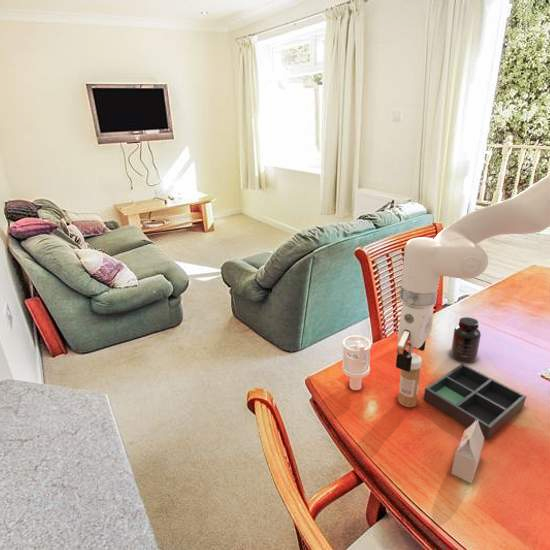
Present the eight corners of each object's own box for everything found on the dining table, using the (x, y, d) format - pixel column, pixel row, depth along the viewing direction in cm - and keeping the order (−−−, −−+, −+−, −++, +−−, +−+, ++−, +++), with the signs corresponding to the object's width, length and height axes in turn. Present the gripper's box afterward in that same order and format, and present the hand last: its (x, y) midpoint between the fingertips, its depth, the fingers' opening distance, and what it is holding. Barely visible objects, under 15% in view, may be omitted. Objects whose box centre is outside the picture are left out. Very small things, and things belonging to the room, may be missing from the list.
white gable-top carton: (479, 459, 78) (487, 423, 74) (471, 483, 73) (479, 445, 69) (460, 451, 80) (467, 415, 76) (451, 473, 75) (458, 436, 71)
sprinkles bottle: (420, 402, 93) (426, 358, 88) (409, 411, 91) (414, 365, 86) (405, 392, 97) (409, 349, 92) (393, 400, 95) (397, 356, 89)
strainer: (347, 397, 97) (348, 348, 91) (338, 379, 103) (339, 333, 97) (373, 393, 97) (375, 344, 91) (363, 376, 104) (365, 329, 98)
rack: (523, 407, 90) (526, 396, 89) (487, 439, 82) (490, 427, 81) (460, 373, 102) (462, 363, 101) (423, 399, 94) (425, 388, 93)
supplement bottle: (451, 347, 114) (456, 313, 109) (476, 352, 111) (483, 317, 106) (449, 360, 108) (455, 324, 103) (476, 365, 105) (483, 329, 100)
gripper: (422, 315, 74) (413, 384, 80) (447, 284, 86) (437, 346, 93) (386, 305, 78) (380, 372, 85) (414, 277, 90) (407, 337, 97)
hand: (410, 358), depth 89 cm, fingers open, 9 cm apart
